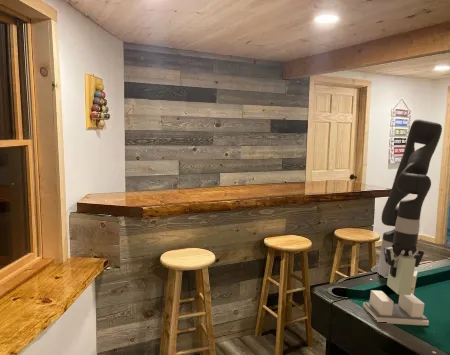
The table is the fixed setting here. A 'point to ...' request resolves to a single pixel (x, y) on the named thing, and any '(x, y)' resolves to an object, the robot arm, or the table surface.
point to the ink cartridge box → (413, 282)
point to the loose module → (402, 275)
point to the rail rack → (396, 309)
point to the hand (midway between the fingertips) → (399, 276)
